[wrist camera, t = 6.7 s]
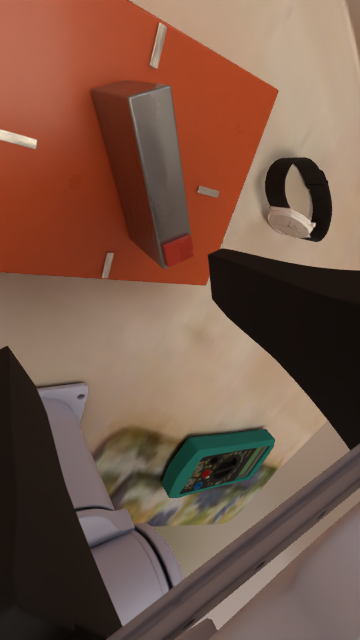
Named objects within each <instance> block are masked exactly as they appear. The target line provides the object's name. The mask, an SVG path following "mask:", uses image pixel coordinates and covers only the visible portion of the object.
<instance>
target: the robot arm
mask: <svg viewBox="0 0 360 640" xmlns="http://www.w3.org/2000/svg"><path fill="white" fill-rule="evenodd" d="M208 263H209V273H210V282H211V292H212V299H213V301H214V302H215V303H216V304H217V305H218V307H219V308H220V309H221V310H222V311H223V312H224V314H225V315H226V316H227V317H228V318H229V319H230V320H231V321H232V322H234V323H235V324H236V325H237V326H238V327H239V328H240V329H241V330H243V331H244V332H245V333H246V334H247V335H248V336H250V337H251V338H252V339H253V340H254V341H255V342H256V343H258V344H259V345H260V346H261V347H262V348H263V349H265V350H266V351H267V352H268V353H269V354H270V355H271V356H272V357H273V358H274V359H275V360H277V361H278V363H279V364H280V365H281V366H282V367H283V368H284V369H285V370H286V371H287V372H288V373H289V374H290V376H291V377H292V378H293V379H294V380H295V381H296V382H297V383H298V385H299V386H300V387H301V388H302V389H303V390H304V391H305V393H306V394H307V395H308V396H309V397H310V398H311V400H312V401H313V402H314V403H315V405H316V406H317V407H318V408H319V410H320V411H321V412H322V413H323V414H324V416H325V417H326V418H327V419H328V421H329V422H330V423H331V425H332V426H333V427H334V429H335V430H336V431H337V433H338V434H339V435H340V437H341V438H342V439H343V441H344V442H345V443H346V445H347V446H348V448H349V449H350V451H349V452H348V453H347V454H345V455H344V456H343V457H342V458H340V459H339V460H338V461H336V462H335V463H334V464H333V465H331V466H330V467H329V468H327V469H326V470H325V471H323V472H322V473H321V474H320V475H318V476H317V477H316V478H314V479H313V480H312V481H311V482H309V483H308V484H307V485H305V486H304V487H303V488H302V489H300V490H299V491H298V492H296V493H295V494H294V495H293V496H291V497H290V498H289V499H287V500H286V501H285V502H283V503H282V504H281V505H279V506H278V507H277V508H276V509H275V510H273V511H272V512H270V513H269V514H268V515H267V516H265V517H264V518H263V519H261V520H260V521H259V522H257V523H256V524H255V525H254V526H252V527H251V528H250V529H248V530H247V531H246V532H245V533H243V534H242V535H241V536H239V537H238V538H237V539H236V540H234V541H233V542H232V543H230V544H229V545H228V546H226V547H225V548H224V549H223V550H221V551H220V552H219V553H217V554H216V555H215V556H214V557H212V558H211V559H210V560H208V561H207V562H206V563H204V564H203V565H202V566H201V567H199V568H198V569H197V570H195V571H194V572H193V573H191V574H190V575H189V576H188V577H186V578H184V575H183V572H182V569H181V567H180V564H179V562H178V560H177V558H176V555H175V554H174V552H173V550H172V548H171V547H170V545H169V544H168V543H167V541H166V540H165V539H164V538H163V537H162V536H161V535H160V534H159V533H158V532H157V531H156V530H155V529H153V528H152V527H151V526H150V525H148V524H145V523H137V524H135V525H134V524H133V522H132V520H131V517H130V515H129V513H128V511H127V509H126V508H124V509H121V510H116V511H115V510H114V507H113V505H112V502H111V500H110V498H109V495H108V493H107V490H106V488H105V486H104V483H103V481H102V478H101V476H100V474H99V471H98V469H97V466H96V464H95V462H94V459H93V457H92V454H91V452H90V449H89V447H88V445H87V442H86V440H85V437H84V435H83V433H82V430H81V428H80V423H81V419H82V415H83V411H84V407H85V403H86V399H87V395H88V391H89V388H88V386H87V384H85V383H79V384H70V385H62V386H53V387H45V388H37V387H36V386H35V385H34V383H33V382H32V380H31V379H30V377H29V376H28V375H27V373H26V372H25V370H24V369H23V367H22V366H21V364H20V363H19V362H18V360H17V359H16V357H15V356H14V354H13V353H12V351H11V350H10V349H9V347H8V346H6V347H4V348H2V349H0V640H360V502H359V503H357V504H356V505H355V506H354V507H353V508H351V509H350V510H349V511H348V512H347V513H346V514H344V515H343V516H342V517H341V518H340V519H338V520H337V521H336V522H335V523H334V524H333V525H331V526H330V527H329V528H328V529H327V530H326V531H325V532H324V533H322V534H321V535H320V536H319V537H318V538H317V539H316V540H314V541H313V542H312V543H311V544H310V545H309V546H308V547H307V548H306V549H305V550H303V551H302V552H301V553H300V554H299V555H298V556H297V557H296V558H295V559H294V560H293V561H291V562H290V564H288V565H287V566H286V567H285V568H284V569H283V570H282V571H281V572H280V573H278V574H277V575H276V576H275V577H274V578H273V579H272V580H271V581H270V582H269V583H268V584H267V585H266V586H265V587H264V588H263V589H262V590H260V591H259V593H257V594H256V595H255V596H254V597H253V598H252V599H251V600H250V601H249V602H248V603H247V604H246V605H245V606H243V608H241V609H240V610H239V611H238V612H237V613H236V614H235V615H234V616H233V617H232V618H231V619H230V620H229V621H228V622H227V623H225V624H224V625H223V626H222V627H221V628H220V629H219V630H217V629H216V627H215V625H214V623H213V621H212V620H211V619H208V618H207V619H205V620H203V621H202V622H200V623H199V624H198V625H196V626H194V627H193V628H191V629H190V627H192V626H193V625H194V624H195V623H196V622H198V621H199V620H200V619H201V618H203V617H204V616H205V615H206V614H207V613H209V612H210V611H211V610H212V609H213V608H215V607H216V606H217V605H218V604H219V603H221V602H222V601H223V600H224V599H225V598H227V597H228V596H229V595H230V594H232V593H233V592H234V591H235V590H236V589H238V588H239V587H240V586H241V585H242V584H244V583H245V582H246V581H247V580H248V579H250V578H251V577H252V576H253V575H255V574H256V573H257V572H258V571H259V570H261V569H262V568H263V567H264V566H265V565H267V563H269V562H270V561H271V560H273V559H274V558H275V557H276V556H278V555H279V554H280V553H281V552H282V551H284V550H285V549H286V548H287V547H288V546H290V545H291V544H292V543H293V542H294V541H296V540H297V539H298V538H299V537H300V536H301V535H303V534H304V533H305V532H307V531H308V530H309V529H310V528H311V527H313V526H314V525H315V524H316V523H317V522H319V521H320V520H321V519H322V518H323V517H325V516H326V515H327V514H328V513H330V511H332V510H333V509H334V508H335V507H337V506H338V505H339V504H340V503H341V502H342V501H344V500H345V499H346V498H348V497H349V496H350V495H351V494H352V493H354V492H355V491H356V490H357V489H358V488H360V271H356V270H338V269H328V268H318V267H311V266H305V265H299V264H293V263H288V262H283V261H278V260H273V259H269V258H264V257H260V256H256V255H251V254H247V253H243V252H238V251H234V250H229V249H222V248H221V249H219V250H217V251H215V252H213V253H210V254H208ZM80 394H82V395H80ZM79 395H80V396H79Z"/></svg>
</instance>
